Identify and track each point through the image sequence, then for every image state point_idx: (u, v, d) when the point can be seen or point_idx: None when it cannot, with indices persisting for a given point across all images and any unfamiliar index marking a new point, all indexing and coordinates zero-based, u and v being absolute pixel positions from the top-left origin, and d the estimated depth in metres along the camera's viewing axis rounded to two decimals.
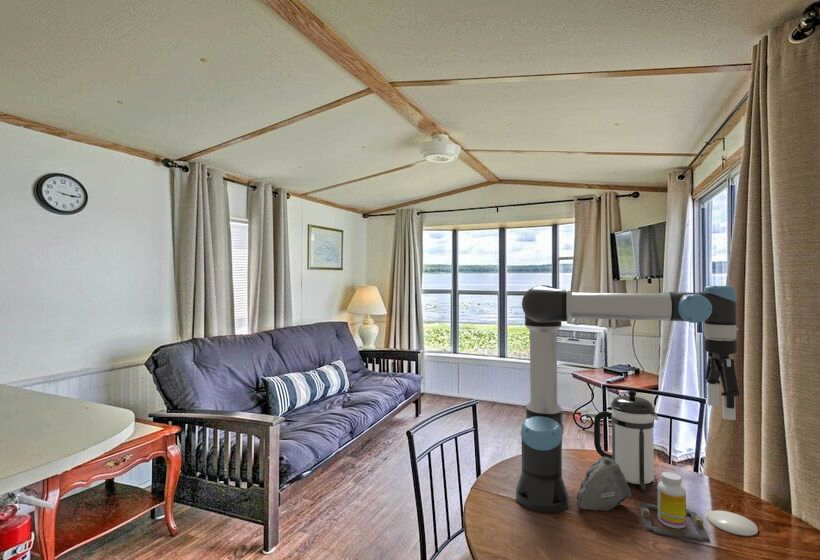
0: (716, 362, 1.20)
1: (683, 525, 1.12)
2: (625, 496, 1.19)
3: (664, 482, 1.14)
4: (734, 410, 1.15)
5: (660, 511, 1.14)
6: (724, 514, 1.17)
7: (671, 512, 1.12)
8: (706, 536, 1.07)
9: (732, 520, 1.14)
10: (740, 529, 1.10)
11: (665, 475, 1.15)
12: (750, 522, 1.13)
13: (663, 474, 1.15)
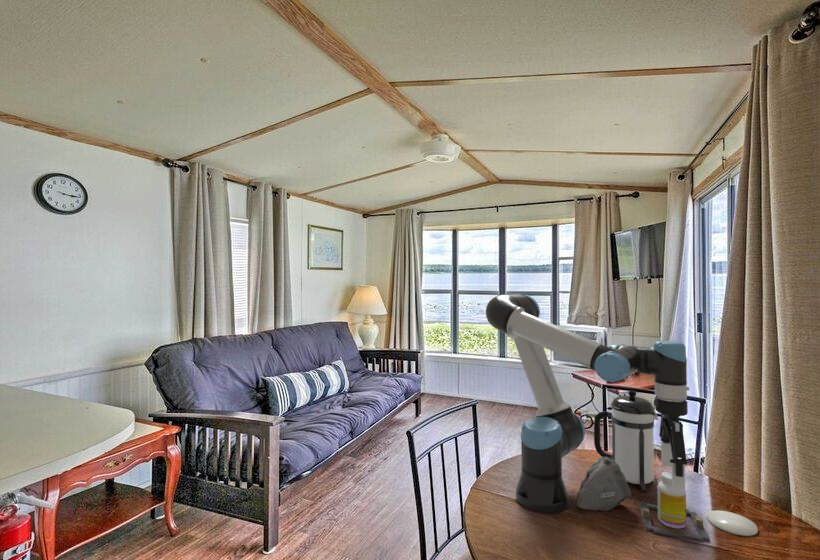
0: (666, 424, 1.13)
1: (683, 525, 1.12)
2: (625, 496, 1.19)
3: (664, 482, 1.14)
4: (683, 478, 1.07)
5: (660, 511, 1.14)
6: (724, 514, 1.17)
7: (671, 512, 1.12)
8: (706, 536, 1.07)
9: (732, 520, 1.14)
10: (740, 529, 1.10)
11: (665, 475, 1.15)
12: (750, 522, 1.13)
13: (663, 474, 1.15)
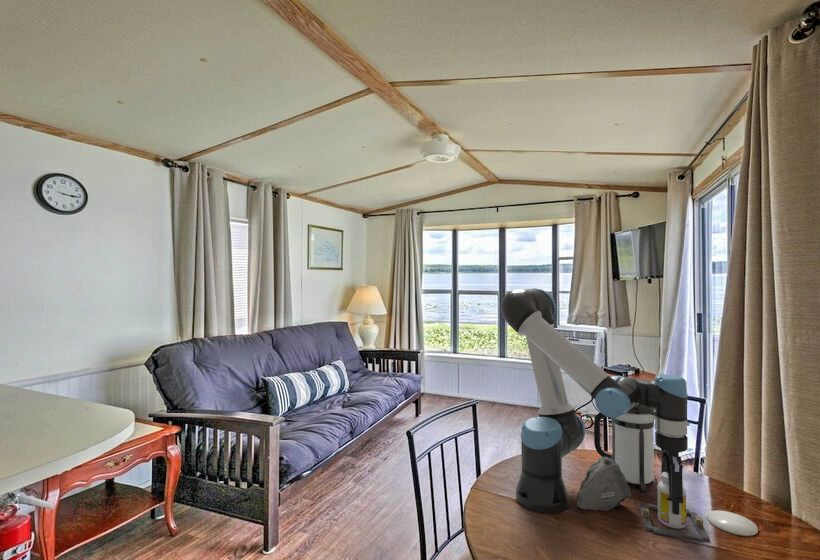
0: (666, 460, 1.13)
1: (683, 525, 1.12)
2: (625, 496, 1.19)
3: (664, 482, 1.14)
4: (680, 516, 1.10)
5: (660, 511, 1.14)
6: (724, 514, 1.17)
7: None
8: (706, 536, 1.07)
9: (732, 520, 1.14)
10: (740, 529, 1.10)
11: (665, 475, 1.15)
12: (750, 522, 1.13)
13: (663, 474, 1.15)
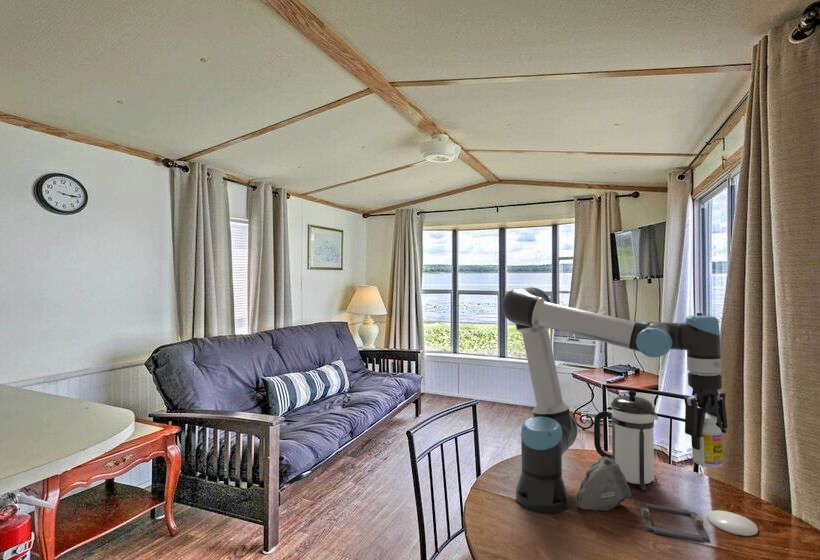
0: None
1: (710, 464, 1.11)
2: (625, 496, 1.19)
3: None
4: (701, 452, 1.11)
5: None
6: (724, 514, 1.17)
7: None
8: (706, 536, 1.07)
9: (732, 520, 1.14)
10: (740, 529, 1.10)
11: None
12: (750, 522, 1.13)
13: None
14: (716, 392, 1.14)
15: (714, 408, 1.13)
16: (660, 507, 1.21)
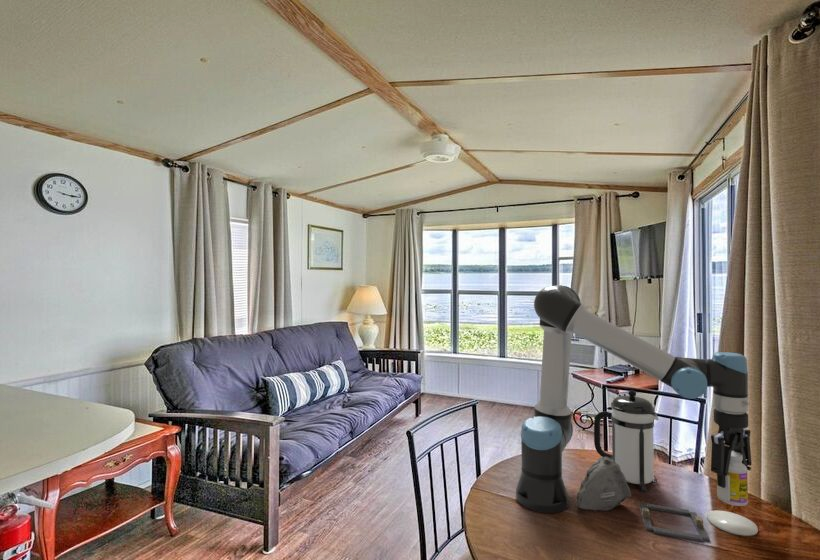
0: None
1: (736, 502, 1.11)
2: (625, 496, 1.19)
3: None
4: (727, 490, 1.11)
5: None
6: (724, 514, 1.17)
7: None
8: (706, 536, 1.07)
9: (732, 520, 1.14)
10: (740, 529, 1.10)
11: None
12: (750, 522, 1.13)
13: None
14: (742, 429, 1.14)
15: (739, 446, 1.14)
16: (660, 507, 1.21)
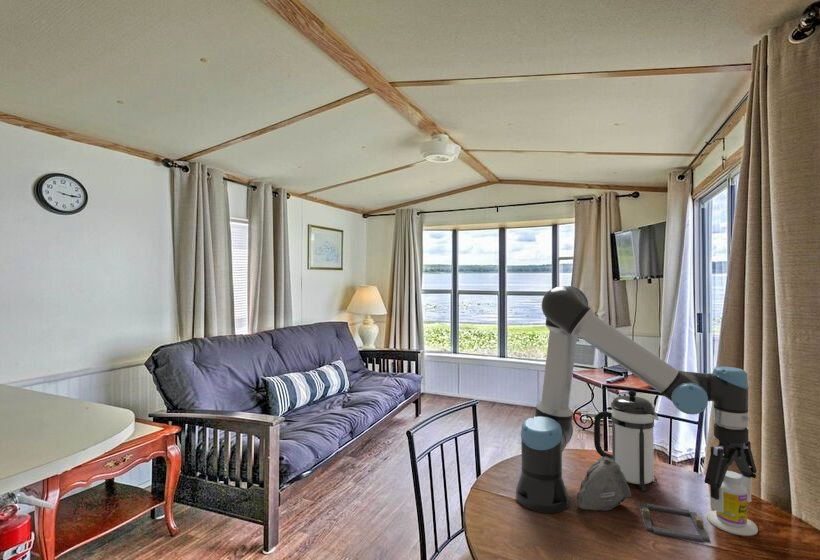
0: None
1: (735, 524, 1.11)
2: (625, 496, 1.19)
3: None
4: (720, 502, 1.10)
5: None
6: None
7: None
8: (706, 536, 1.07)
9: None
10: (740, 529, 1.10)
11: None
12: (750, 522, 1.13)
13: None
14: (741, 444, 1.14)
15: (741, 459, 1.14)
16: (660, 507, 1.21)
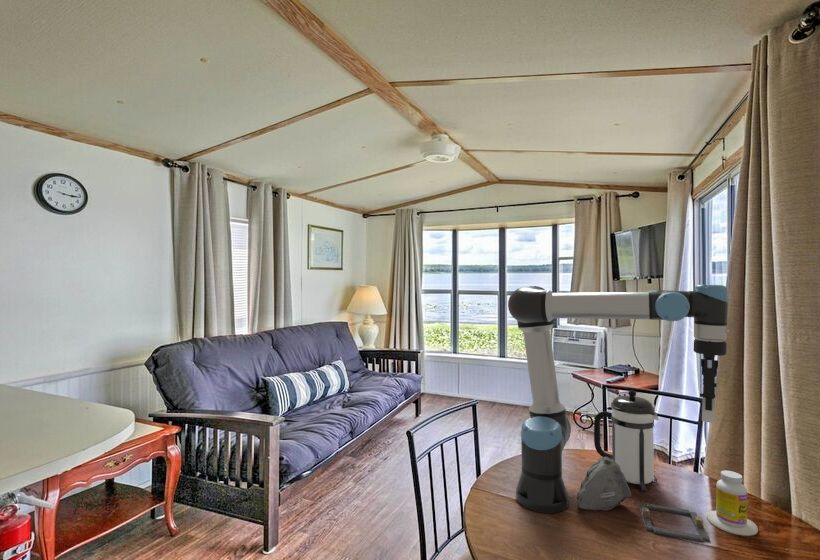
0: (702, 363, 1.17)
1: (735, 524, 1.11)
2: (625, 496, 1.19)
3: None
4: (713, 413, 1.11)
5: (716, 505, 1.16)
6: None
7: (721, 507, 1.13)
8: (706, 536, 1.07)
9: None
10: (740, 529, 1.10)
11: (724, 472, 1.15)
12: (750, 522, 1.13)
13: (724, 471, 1.16)
14: None
15: None
16: (660, 507, 1.21)
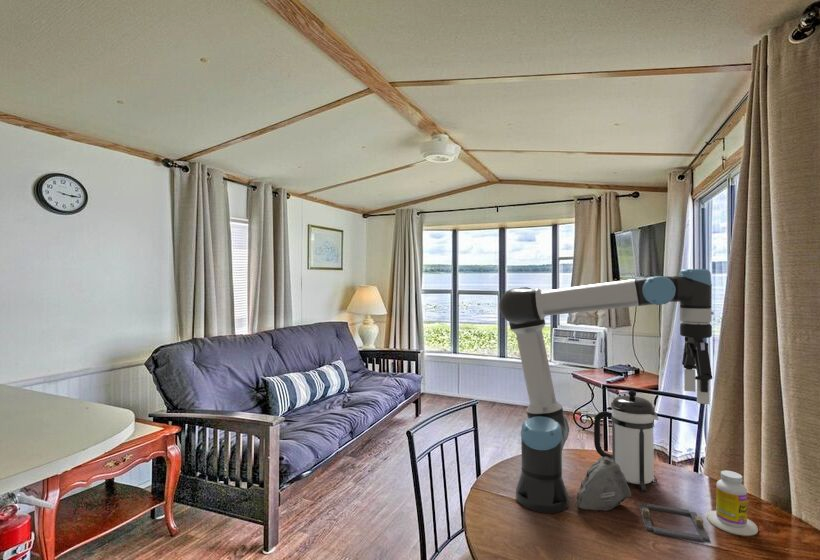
0: (691, 346, 1.19)
1: (735, 524, 1.11)
2: (625, 496, 1.19)
3: None
4: (708, 394, 1.13)
5: (716, 505, 1.16)
6: None
7: (721, 507, 1.13)
8: (706, 536, 1.07)
9: None
10: (740, 529, 1.10)
11: (724, 472, 1.15)
12: (750, 522, 1.13)
13: (724, 471, 1.16)
14: None
15: None
16: (660, 507, 1.21)
